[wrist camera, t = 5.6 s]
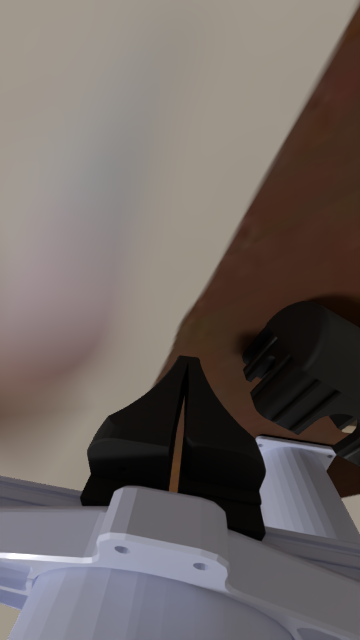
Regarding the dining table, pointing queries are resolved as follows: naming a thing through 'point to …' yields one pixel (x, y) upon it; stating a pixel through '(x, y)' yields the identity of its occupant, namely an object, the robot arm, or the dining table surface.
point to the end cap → (308, 372)
